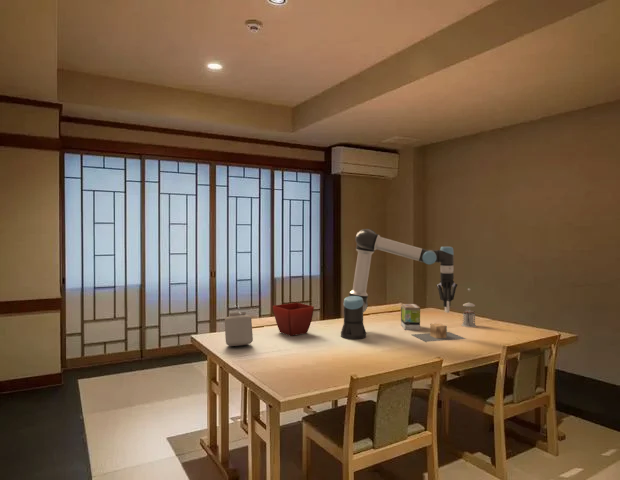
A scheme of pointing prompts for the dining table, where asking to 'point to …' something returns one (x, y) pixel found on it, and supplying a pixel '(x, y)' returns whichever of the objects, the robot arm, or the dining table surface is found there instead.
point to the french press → (468, 316)
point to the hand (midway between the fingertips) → (446, 312)
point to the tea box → (410, 316)
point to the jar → (238, 329)
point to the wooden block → (438, 330)
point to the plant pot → (293, 318)
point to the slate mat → (429, 338)
